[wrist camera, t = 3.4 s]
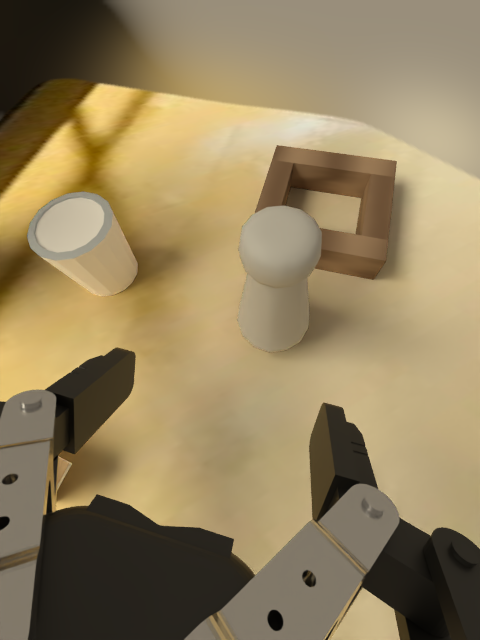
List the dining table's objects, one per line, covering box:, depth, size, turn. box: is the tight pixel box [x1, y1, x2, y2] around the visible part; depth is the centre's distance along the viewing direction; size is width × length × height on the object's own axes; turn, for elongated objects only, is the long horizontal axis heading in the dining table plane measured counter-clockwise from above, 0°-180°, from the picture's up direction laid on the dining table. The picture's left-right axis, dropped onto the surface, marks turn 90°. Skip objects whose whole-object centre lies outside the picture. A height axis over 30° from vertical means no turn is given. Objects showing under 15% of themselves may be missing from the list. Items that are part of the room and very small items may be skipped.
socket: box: [255, 145, 397, 279], centre depth 29 cm, size 12×12×3 cm
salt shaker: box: [237, 206, 322, 352], centre depth 20 cm, size 6×6×13 cm
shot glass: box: [27, 192, 138, 296], centre depth 27 cm, size 7×7×7 cm
